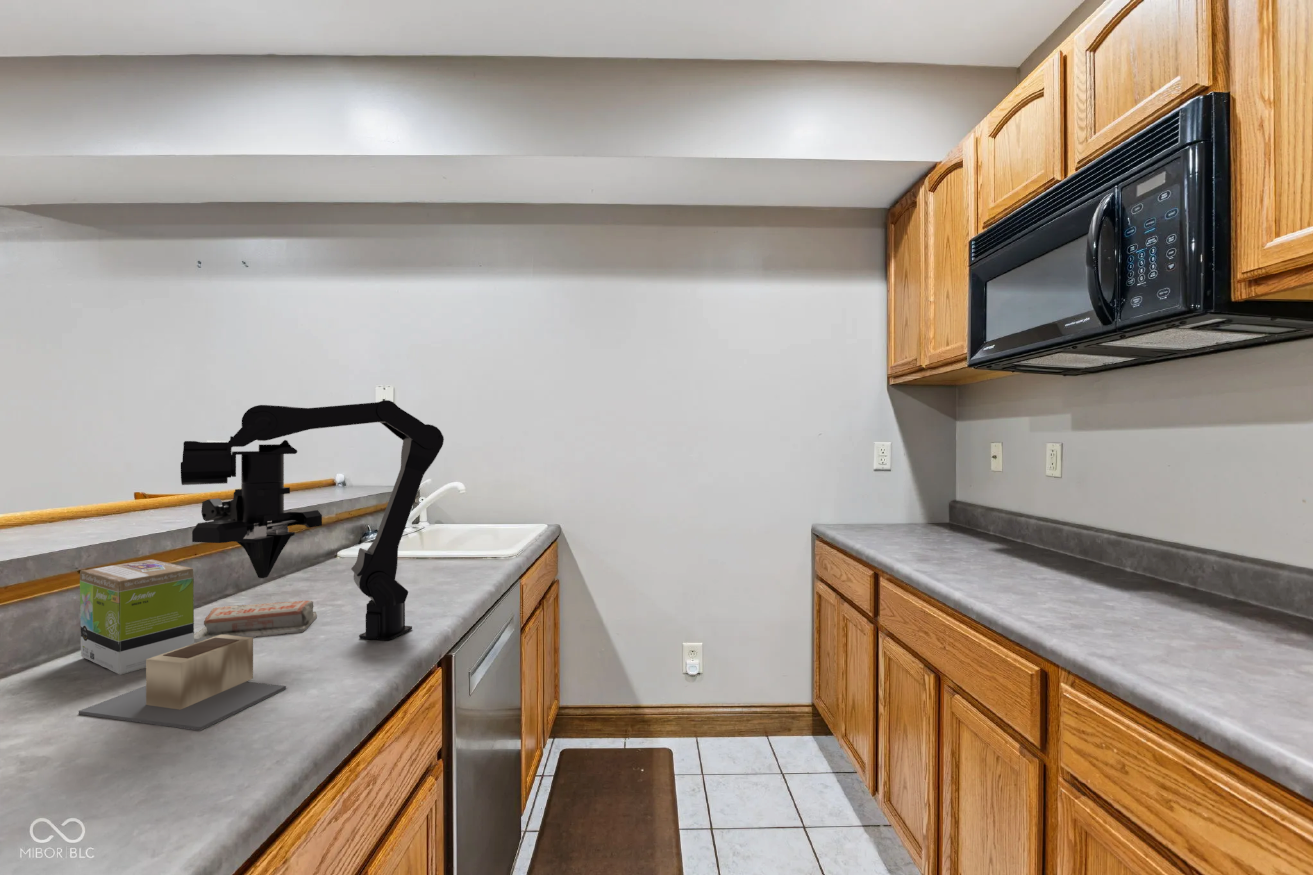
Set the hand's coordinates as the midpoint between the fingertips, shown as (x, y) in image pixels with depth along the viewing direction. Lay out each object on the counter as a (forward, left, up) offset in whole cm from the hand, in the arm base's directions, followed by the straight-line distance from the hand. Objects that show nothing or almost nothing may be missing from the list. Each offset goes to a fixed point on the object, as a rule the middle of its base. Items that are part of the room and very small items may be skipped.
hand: (263, 577), depth 92 cm
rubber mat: (+15, +4, -13) cm, 20 cm away
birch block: (+8, +4, -10) cm, 13 cm away
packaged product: (-12, -14, -14) cm, 23 cm away
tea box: (+4, -21, -13) cm, 25 cm away
